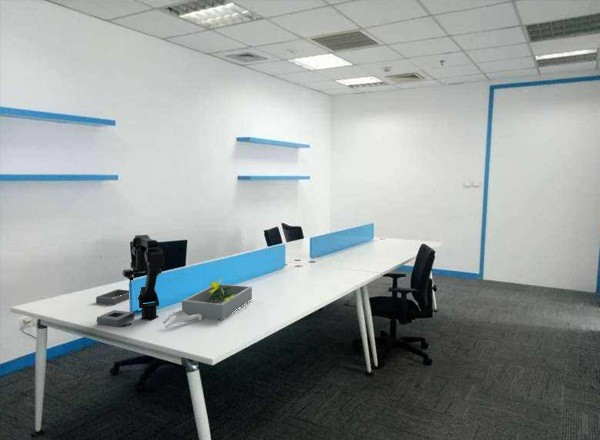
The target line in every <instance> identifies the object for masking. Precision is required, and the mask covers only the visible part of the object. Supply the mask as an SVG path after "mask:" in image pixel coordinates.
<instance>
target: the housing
mask: <svg viewBox="0 0 600 440" xmlns="http://www.w3.org/2000/svg"><path fill="white" fill-rule="evenodd" d="M134 320H135V312H133V311H123V310H116V309H114V310H111V311H108V312H106V313H104V314H102V315H101V314H100V316H97V317H96V325H100V326H106V327H114V328H115V327H117V328H119V327H121V326H123V325H126V324H128V323H129V322H132V321H134ZM125 323H126V324H125Z"/></svg>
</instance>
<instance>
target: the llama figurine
mask: <svg viewBox="0 0 600 440" xmlns="http://www.w3.org/2000/svg"><path fill="white" fill-rule="evenodd" d="M173 317H175V318H176V319H175V320H173V321H171V322H169V323H168V324H166V323H167V322H168V321H169V320H170V319H171V318H173ZM196 317H198V318H196ZM195 318H196V319H197V320H198V321H199V322H201V321H202V319H203V318H202V315H200V314H195V315H191V316H188V315H187V314H185V313H184V312H183V310H182V308H181V309H178V310H175V311H173V312H172V313H171V314H169V315H168V317H167V318H166V319H165V320H164V321H163V320H162V323H163V324H164V327H165V328H167V329H168V327H170V326H172V325H174V324H177V323H180V322H183V321H184V322H185V321H191V320H193V319H195ZM165 324H166V325H165Z"/></svg>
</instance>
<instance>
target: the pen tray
mask: <svg viewBox="0 0 600 440" xmlns="http://www.w3.org/2000/svg"><path fill="white" fill-rule="evenodd" d="M129 290H130V289H129ZM129 290H127V289H120V288H119V289H114V290H112V291H109V292H107V293H104V294H100V295H98V296H96V297H95V303H96V304H100V305H101V304H103V305H110V306H111V305H112V306H115V305H118V304H120V303H123V302H125V301H127V300H130V299H129ZM117 295H121V296H117ZM115 296H116V297H115Z"/></svg>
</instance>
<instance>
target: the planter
mask: <svg viewBox="0 0 600 440" xmlns="http://www.w3.org/2000/svg"><path fill="white" fill-rule="evenodd" d="M219 287H220V288H225V287H232V288H230V289H227V290H223V292H224V293H225V292H227V293H226V294H225V295H228V294H232V293H234V294H235V295H234V294H233V296H234V297H232V298H230V299H228V300H227V301H225V302H223V301H222V303H221V304H220V303H217V302H216V303H215V302H214V303H212V301H213V299H214V298H215V297H213V298H212V296H213V295H215V294H210V293H212V292H213V291H212V292H209V291H211V290H213V287H206V288H205V289H203V290H201V291H198V292H197V293H195V294H193V295H191V296H189V297H187V298H184V299H182V300H181V310H183V312H184V313H185V314H187V315H188V316H191V315H195V314H200V315H202V318H201V319H205V318H211V319H210V320H214V319H220V320H219V321H224V320H225V319H226V317H227V316H228V315H230V314H231V313H232V312H234V311H235V310H236V309H238V308H239V307H241V306H242V305H244V304H245V303H246V302H248V301H249V300H251V299H252V300H253V287H252V286H247V285H237V284H236V285H235V284H227V283H226V284H224V283H220V284H219ZM214 292H215V291H214ZM216 294H217V293H216ZM220 295H222V293H220ZM231 296H232V295H231ZM231 296H229V297H231ZM229 297H227V298H229ZM252 300H251V301H252ZM208 302H209V303H208ZM248 303H249V302H248ZM245 305H246V304H245ZM245 305H244V306H245ZM242 307H243V306H242ZM242 307H241V308H242ZM238 310H239V309H238ZM235 312H236V311H235ZM235 312H234V313H235ZM232 314H233V313H232ZM232 314H231V315H232ZM231 315H230V316H231ZM228 317H229V316H228ZM228 317H227V318H228ZM224 318H225V319H224ZM223 319H224V320H223Z"/></svg>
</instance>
